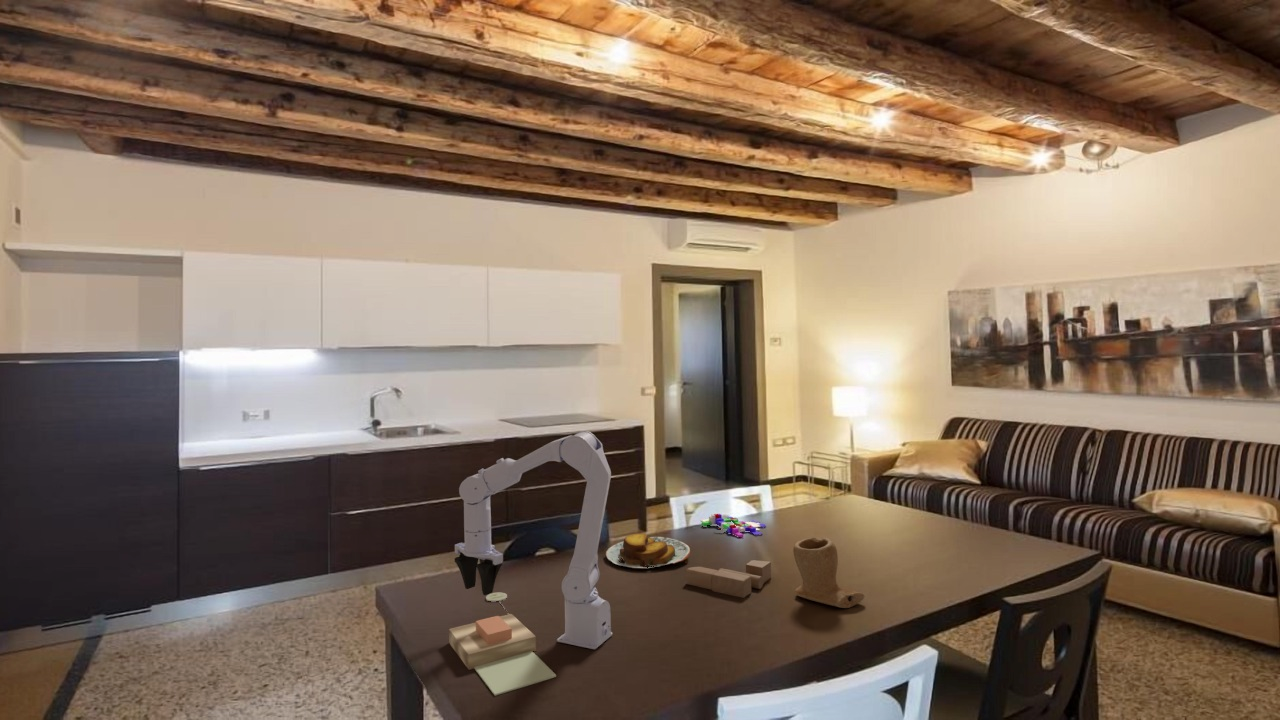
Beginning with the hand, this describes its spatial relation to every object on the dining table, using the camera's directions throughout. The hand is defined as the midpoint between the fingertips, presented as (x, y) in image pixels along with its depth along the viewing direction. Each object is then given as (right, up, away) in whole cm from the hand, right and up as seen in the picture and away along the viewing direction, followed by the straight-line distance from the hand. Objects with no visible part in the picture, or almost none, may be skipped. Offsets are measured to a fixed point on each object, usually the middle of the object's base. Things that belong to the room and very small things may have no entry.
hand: (478, 590), depth 138 cm
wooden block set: (+60, -9, +29) cm, 67 cm away
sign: (+1, -10, +16) cm, 19 cm away
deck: (+4, -9, -7) cm, 12 cm away
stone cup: (+81, -8, +14) cm, 82 cm away
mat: (+11, -9, -18) cm, 23 cm away
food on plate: (+38, -9, +50) cm, 64 cm away
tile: (+5, -6, -8) cm, 11 cm away
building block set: (+69, -9, +83) cm, 108 cm away
